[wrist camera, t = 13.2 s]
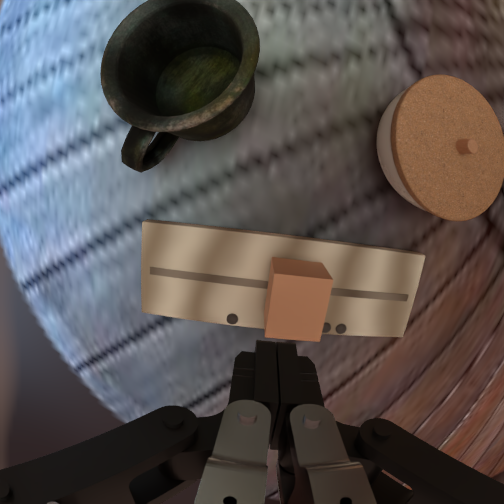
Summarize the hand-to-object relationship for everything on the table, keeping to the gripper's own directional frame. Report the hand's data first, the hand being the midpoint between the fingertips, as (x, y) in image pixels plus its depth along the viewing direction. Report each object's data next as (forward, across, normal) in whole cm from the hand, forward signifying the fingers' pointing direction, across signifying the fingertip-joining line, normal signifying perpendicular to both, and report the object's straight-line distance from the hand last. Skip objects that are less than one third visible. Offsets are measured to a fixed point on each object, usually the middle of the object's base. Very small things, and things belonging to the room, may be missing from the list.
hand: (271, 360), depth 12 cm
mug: (+21, +8, -13) cm, 26 cm away
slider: (+19, -3, +4) cm, 20 cm away
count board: (+21, -2, +4) cm, 21 cm away
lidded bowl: (+21, -15, -12) cm, 28 cm away
